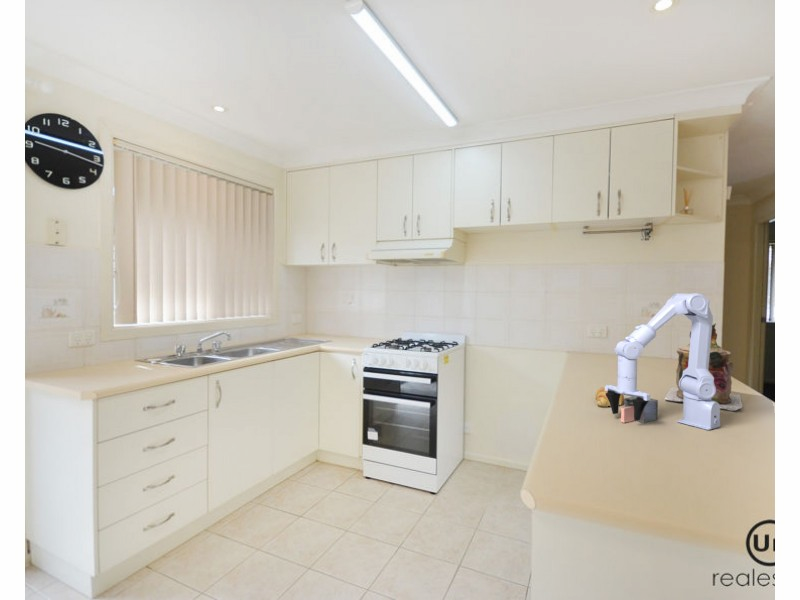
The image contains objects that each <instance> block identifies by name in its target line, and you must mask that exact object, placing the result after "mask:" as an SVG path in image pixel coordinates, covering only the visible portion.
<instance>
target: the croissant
mask: <svg viewBox="0 0 800 600" xmlns="http://www.w3.org/2000/svg"><path fill="white" fill-rule="evenodd" d="M606 393H608V391H605V386H602V387H600V388H598V389H597V390H596V391H595V400H596V404H597V406H599V407H604V408H605V407H606V408H608V406H610V407H611V405H610V402H609V400H608V398H607V396H606ZM624 400H625V395H623V394H621V395H620V399H619V405H620V406H622V404H623V402H624Z"/></svg>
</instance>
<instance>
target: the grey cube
mask: <svg viewBox="0 0 800 600" xmlns="http://www.w3.org/2000/svg"><path fill="white" fill-rule="evenodd" d="M632 399H637V398H635V397H631V396H628V397H624V407H628V406H633V401H632ZM658 403H659V400H658V399H654V398H651V397H650V400H649V402H648V403H647V405H646V406H645V408H644V410H643V412H642V414H641V418H640V420H637V421H636V422H638V421H640V422H639V423H642V422H643V423H642V424H646V423H649V422H648V421H650V422H653V421H652V420H654V421H657V420H658V407H659V404H658ZM656 419H657V420H656ZM645 422H646V423H645Z"/></svg>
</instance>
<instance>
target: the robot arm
mask: <svg viewBox="0 0 800 600" xmlns="http://www.w3.org/2000/svg"><path fill="white" fill-rule="evenodd" d="M679 315H684V316H685V317H686V318H688V320H690V321H691V328H690V329H691V330H690V332H691V339H690V341H689V344H690V350H689V361H688V368H686V369H685V370H684V371H683V375H682V377H681V379H680V381H679V387H680V389H681V390H682V391H683V395H684V396H683V402H682V403H683V404H682V406H683V407H682V408H683V410H682V418H681V419H678V420H677V421H676V422H677V423H681V424H684V425H688V426H691V427H696V428H698V429H703V430H706V431H711V430H713V429H718V428H720V427H721V423H720V420H721V417H720V416H721V414H720V413H721V409H720V406H719V403H717V402H715V401H712V400H711V398H712V397H713V396H714V395H715V393H716V387H715V385H714V377H713V376H712V375H711V373H710V372H709V371H708V367H709V356H710V345H711V334H712V325H713V324H714V323H713V322H714V319H713V318H714V316H713V314H712V311H711V309H710V299H708V298H707V297H706V296H705V295H704V294H701V293H700V292H698V293H697V292H694V293H683V292H677V293H674V294H673V295H672V296H671V297H670V298H669V299H667V300H666V302H665V304H664V305H663V307H661V308H660V309H659V311H658V312H657V313H656V314H655V315H654V316H653V317H652V318H651V319H650V320H649V321H648V322H647V324H640V325H636V326H635V327H634V330H633V332H631V333H630V334H629V335H628V336H625V338H624V340H621V341H619V342H617V344H616V347H614V349H613V350H614V352H615V354H616V356H617V375H616V376H617V380H616V381H617V382H616V385H610V384H606V385H604V387H605V391H608V393H606V396H607V398H608V400H609V402H610V405H611V406H610V408H611V413H612V415H616V414H617V415H618V414H619V408H620V406H619V399H620V395H621V394H623V396H627V397H635V398H637V399H632V401H633V405H634V421H635V422H638V421H637V420H640V418H641V414H642V412H643V410H644V408H645V406H646V405H647V403H648V402H649V400H650V398H651V394H650V393H646V392H644V391H641V390H637V387H638V386H637V385H638V384H637V382H638V381H637V380H638V378H637V377H638V376H637V375H638V358H640V357H641V356H642V352H643V349H644V348H645V347H646V346H647V345H648V344H649V343H650V342H652V341H653V340H654V339H655V338H657V331H658V330H659V329H660V328H662V327H663V326H664V325H665V324H667V322H669V321H670V320H671V319H672V318H674V317H676V316H679Z"/></svg>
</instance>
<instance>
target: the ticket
mask: <svg viewBox="0 0 800 600" xmlns="http://www.w3.org/2000/svg"><path fill="white" fill-rule="evenodd" d="M620 412H621V413H620V423H622V422H623V424H625V422H626V423H629V422H634V421H635V420H634V405H633V406H628V407H625V406H624V407H621V408H620Z"/></svg>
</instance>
